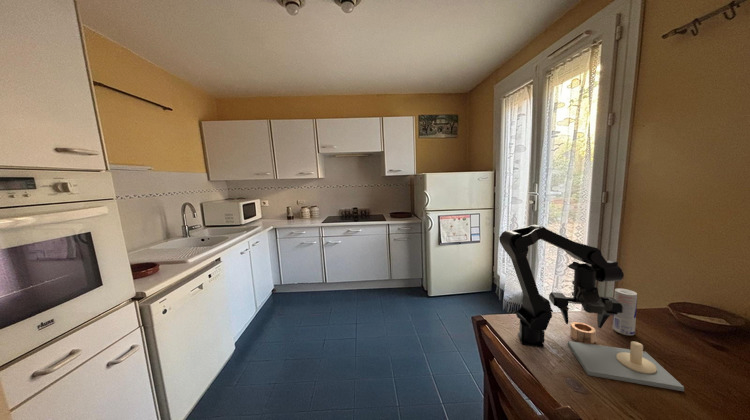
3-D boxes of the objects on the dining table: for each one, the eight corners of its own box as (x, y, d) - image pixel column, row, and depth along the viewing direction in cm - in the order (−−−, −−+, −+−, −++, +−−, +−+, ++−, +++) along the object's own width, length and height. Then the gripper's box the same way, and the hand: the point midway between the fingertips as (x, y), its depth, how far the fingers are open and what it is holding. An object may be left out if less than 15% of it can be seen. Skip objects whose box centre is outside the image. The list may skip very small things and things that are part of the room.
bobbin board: (587, 374, 70) (588, 351, 69) (567, 344, 83) (568, 323, 82) (683, 391, 63) (686, 365, 63) (645, 355, 76) (646, 333, 76)
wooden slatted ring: (575, 342, 84) (575, 331, 83) (567, 331, 90) (567, 321, 89) (598, 345, 82) (599, 334, 81) (589, 334, 88) (589, 323, 87)
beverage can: (639, 337, 85) (642, 295, 84) (620, 335, 86) (622, 294, 85) (626, 327, 90) (629, 288, 89) (608, 326, 92) (610, 287, 90)
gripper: (560, 288, 79) (559, 335, 81) (636, 295, 73) (632, 344, 75) (549, 276, 90) (547, 317, 91) (614, 280, 84) (611, 324, 85)
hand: (582, 325), depth 85 cm, fingers open, 9 cm apart
